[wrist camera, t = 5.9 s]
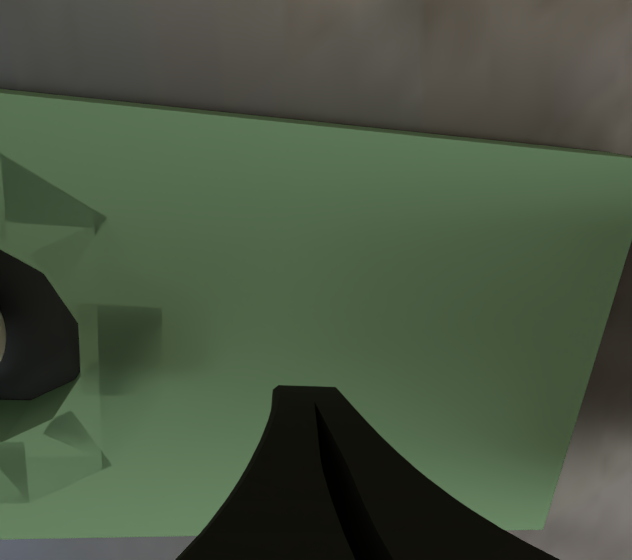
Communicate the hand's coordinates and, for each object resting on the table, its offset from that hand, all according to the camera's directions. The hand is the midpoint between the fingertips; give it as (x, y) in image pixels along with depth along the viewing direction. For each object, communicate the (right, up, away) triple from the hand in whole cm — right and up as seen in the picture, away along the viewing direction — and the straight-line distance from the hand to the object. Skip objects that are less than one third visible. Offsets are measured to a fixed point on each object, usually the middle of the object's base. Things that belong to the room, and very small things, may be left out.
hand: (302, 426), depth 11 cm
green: (-4, +2, +4) cm, 6 cm away
